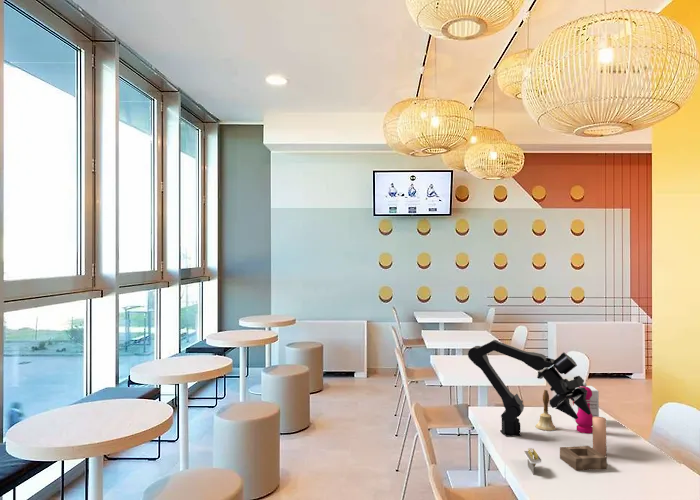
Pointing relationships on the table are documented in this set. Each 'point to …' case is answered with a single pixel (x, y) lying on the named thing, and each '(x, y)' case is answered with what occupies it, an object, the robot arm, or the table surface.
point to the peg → (599, 434)
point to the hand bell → (545, 416)
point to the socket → (583, 458)
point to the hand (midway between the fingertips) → (583, 416)
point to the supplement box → (593, 405)
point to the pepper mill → (585, 415)
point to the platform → (532, 461)
